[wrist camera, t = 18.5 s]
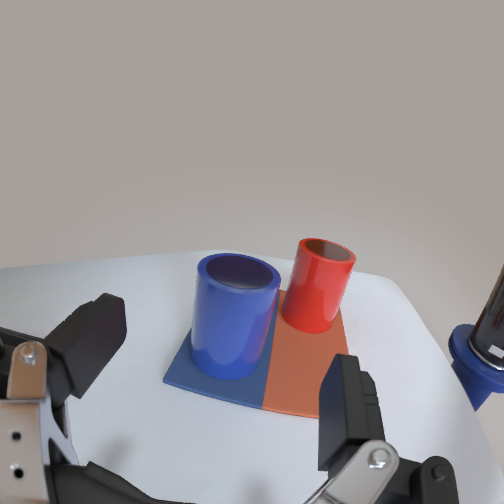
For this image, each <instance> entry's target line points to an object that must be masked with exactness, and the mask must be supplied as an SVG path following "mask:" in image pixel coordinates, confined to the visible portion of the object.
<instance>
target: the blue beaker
mask: <svg viewBox="0 0 504 504" xmlns="http://www.w3.org/2000/svg"><path fill="white" fill-rule="evenodd" d="M280 283H281V277H280V274H279V273H278V271H277V270H276V269H275V268H274V267H272V266H271V265H269V264H268V263H266V262H264V261H262V260H259V259H257V258H254V257H250V256H246V255H241V254H233V253H222V254H214V255H210V256H207V257H205V258H204V259H202V260H201V261H200V262H199V264H198V266H197V275H196V285H195V296H194V307H193V320H192V333H191V347H190V355H191V359H192V361H193V363H194V364H195V366H196V367H197V368H198V369H199V370H201V371H202V372H203V373H205V374H207V375H209V376H211V377H214V378H217V379H222V380H237V379H241V378H244V377H246V376H249V375H250V374H252V373H253V372H254V371H255V370H256V368H257V367H258V364H259V361H260V358H261V354H262V350H263V347H264V343H265V340H266V336H267V332H268V329H269V325H270V321H271V317H272V314H273V310H274V306H275V302H276V298H277V295H278V291H279V287H280Z"/></svg>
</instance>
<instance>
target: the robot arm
mask: <svg viewBox="0 0 504 504" xmlns="http://www.w3.org/2000/svg"><path fill="white" fill-rule="evenodd" d="M126 333H127V327H126V316H125V304H124V300H123V299H122V298H120V297H117V296H114V295H111V294H108V293H103V294H102V295H101V296H100V297H99V298H97V299H96V300H95V301H94V302H93V301H90V302H88V303H86V304H83V305H81V306H79V307H78V308H77V309H76V310H75V311H74V312H73V313H72V315H69V316H68V317H67V318H66V319H65V321H63V322H62V323H60V324H59V325H58V326H57V327H56V328H55V329H54V330H53V331H52V332H51V333H50V334H49V335H48V336H46V337H45V338H44V339H43V340H42V341H41V342H40V343H39V342H36V341H27V342H24V343H22V344H20V345H18V346H17V347H14V346H10V345H7V344H3V343H2V341H1V339H0V504H195V503H183V502H173V501H165V500H158V499H154V498H151V497H150V496H148V495H146V494H145V493H143V492H142V491H141V490H139V489H138V488H136V487H135V486H133V485H132V484H130V483H129V482H128V481H126V480H125V479H124V478H122V477H121V476H119V475H117V474H115V473H113V472H111V471H109V470H106V469H105V468H103V467H101V466H99V465H97V464H95V463H93V462H91V461H89V463H88V464H87V466H81V465H79V461H78V458H77V455H76V453H75V450H74V448H73V444H72V439H71V432H70V423H69V414H68V403H67V400H66V399H67V397H68V396H69V395H70V394H71V395H73V396H75V397H77V398H78V399H81V398H82V396H83V395H84V394H85V392H86V391H87V390H88V388H89V387H90V386H91V384H92V383H93V382H94V380H95V379H96V378H97V376H98V375H99V374H100V372H101V371H102V370H103V368H104V367H105V366H106V365H107V363H108V362H109V361H110V359H111V358H112V357H113V356H114V354H115V353H116V352H117V351H118V349H119V348H120V347H121V345H122V344H123V342H124V340H125V338H126ZM467 343H468V346H469V348H470V350H471V351H472V353H473V354H474V355H475V356H476V357H477V358H478V359H479V360H480V361H481V362H482V363H483V364H485V365H486V366H488V367H489V368H491V369H493V370H496V371H499V372H504V265H503V268H502V270H501V273H500V275H499V277H498V280H497V282H496V284H495V287H494V289H493V291H492V293H491V295H490V298H489V299H488V301H487V303H486V306H485V307H484V309H483V311H482V313H481V315H480V317H479V319H478V321H477V323H476V324H475V326H474V328H473V330H472V331H471V332H470V334H469V336H468V338H467ZM378 404H379V402H378V397H377V392H376V387H375V382H374V381H373V379H372V378H371V376H370V375H369V374H368V372H365V371H360V366H359V360H358V357H357V356H352V355H346V354H340V353H337V354H336V355H335V356H334V358H333V360H332V362H331V364H330V367H329V369H328V371H327V373H326V375H325V377H324V379H323V381H322V383H321V386H320V391H319V448H318V471H328V479H327V480H326V481H325V482H324V483H323V484H322V485H321V486H320V487H319V488H318V489H317V490H316V491H315V492H314V493H313V494H312V495H311V496H310V497H309V498H308V499H307V500H306V501H305V502H304V503H303V504H459V499H458V492H457V485H456V479H455V474H454V469H453V467H452V465H451V463H450V462H449V461H448V460H447V459H445V458H443V457H440V456H432V457H430V458H428V459H427V460H425V461H424V462H423V463H419V462H415V461H411V460H407V459H403V458H401V457H399V456H398V453H397V451H396V450H395V448H394V447H393V446H392V445H390V444H389V443H387V442H386V440H385V435H384V429H383V423H382V417H381V412H380V407H379V406H378Z"/></svg>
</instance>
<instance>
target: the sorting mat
mask: <svg viewBox="0 0 504 504" xmlns="http://www.w3.org/2000/svg"><path fill="white" fill-rule="evenodd" d="M285 294H286V291H283V290H279V291H278V295H277V298H276V302H275V306H274V310H273V314H272V317H271V321H270V325H269V329H268V332H267V336H266V340H265V343H264V347H263V350H262V354H261V358H260V361H259V364H258V367H257V368H256V370H255V371H254V372H253V373H252V374H250V375H249V376H246V377H244V378H241V379H237V380H222V379H217V378H214V377H211V376H209V375H207V374H205V373H203V372H202V371H201V370H199V369H198V368H197V367H196V366H195V364H194V363H193V361H192V359H191V355H190V347H191V333H192V328H191V329H190V331H189V333H188V335H187V337H186V338H185V340H184V342H183V344H182V346H181V347H180V349H179V351H178V353H177V355H176V356H175V358H174V360H173V362H172V364H171V365H170V367H169V369H168V371H167V373H166V374H165V376H164V378H163V382H164V383H167V384H170V385H173V386H176V387H179V388H182V389H185V390H189V391H192V392H195V393H199V394H202V395H206V396H209V397H213V398H217V399H220V400H224V401H228V402H232V403H236V404H241V405H245V406H249V407H254V408H259V409H264V410H269V411H274V412H279V413H285V414H291V415H297V416H304V417H311V418H319V391H320V386H321V383H322V381H323V379H324V377H325V375H326V373H327V371H328V369H329V367H330V364H331V362H332V360H333V358H334V356H335V355H336V354H337V353H340V354H346V355H349V354H348V349H347V343H346V337H345V332H344V327H343V321H342V316H341V311H340V306H339V309H338V311H337V314H336V317H335V319H334V322H333V324H332V327H331V328H330V329H329V330H328V331H326V332H323V333H306V332H303V331H300V330H297V329H295V328H293V327H292V326H290V325H289V324H288V323H287V322H286V321H285V320H284V319H283V317H282V315H281V309H282V305H283V302H284V298H285Z"/></svg>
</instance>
